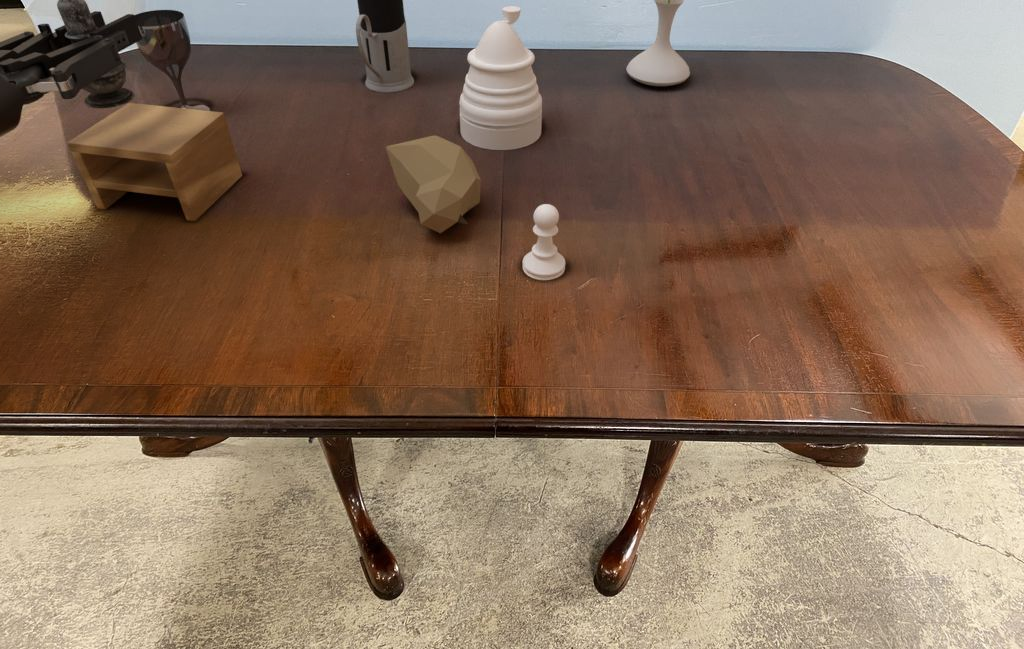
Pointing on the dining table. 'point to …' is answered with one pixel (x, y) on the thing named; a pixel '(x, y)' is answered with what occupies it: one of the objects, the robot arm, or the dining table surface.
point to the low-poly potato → (436, 180)
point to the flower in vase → (660, 53)
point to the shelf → (158, 156)
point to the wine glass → (167, 46)
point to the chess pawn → (544, 246)
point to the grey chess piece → (109, 85)
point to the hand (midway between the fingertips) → (118, 25)
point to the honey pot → (501, 90)
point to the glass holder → (384, 45)
